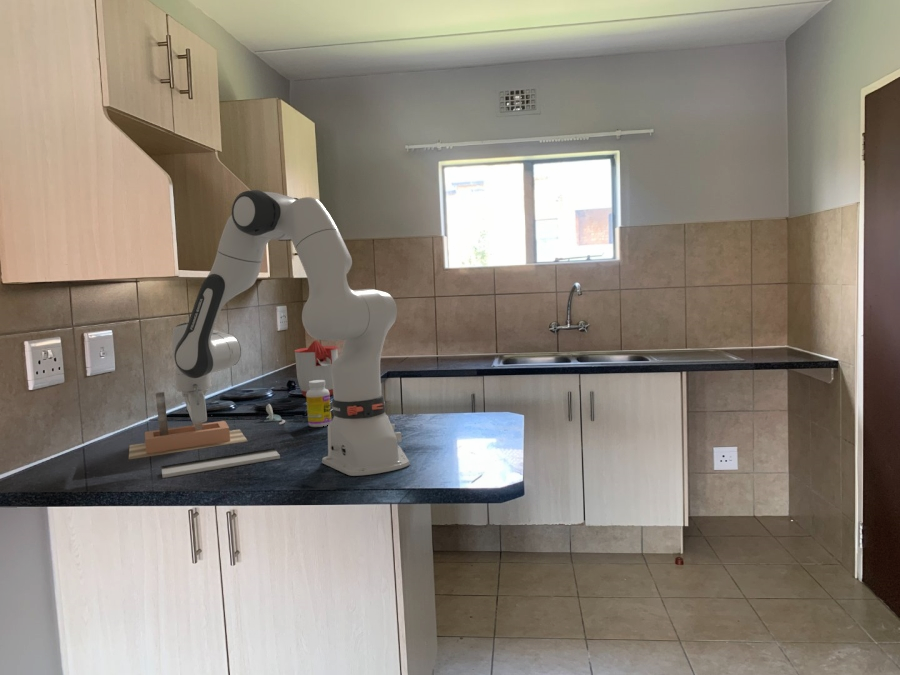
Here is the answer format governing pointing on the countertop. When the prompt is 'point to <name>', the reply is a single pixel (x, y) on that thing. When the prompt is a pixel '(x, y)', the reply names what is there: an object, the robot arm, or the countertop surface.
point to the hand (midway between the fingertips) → (198, 433)
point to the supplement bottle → (318, 404)
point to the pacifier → (273, 415)
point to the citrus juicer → (315, 365)
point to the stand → (140, 449)
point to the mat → (219, 462)
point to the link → (187, 437)
